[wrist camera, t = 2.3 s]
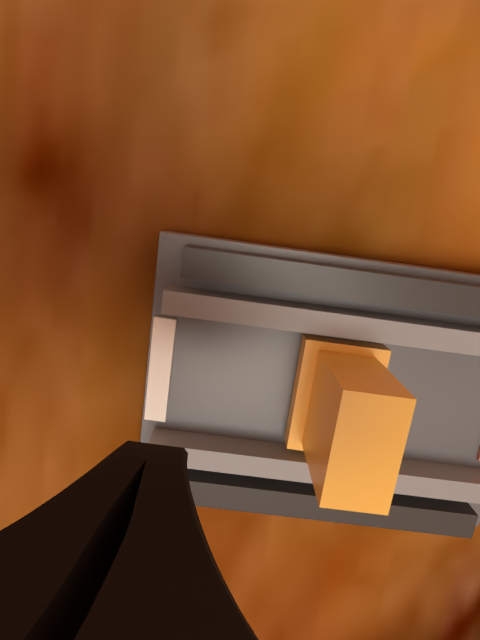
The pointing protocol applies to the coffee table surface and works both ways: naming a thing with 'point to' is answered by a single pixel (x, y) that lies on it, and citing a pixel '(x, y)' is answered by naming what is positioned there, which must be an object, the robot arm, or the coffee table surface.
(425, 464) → the breaker panel
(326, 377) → the breaker lever
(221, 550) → the coffee table surface
